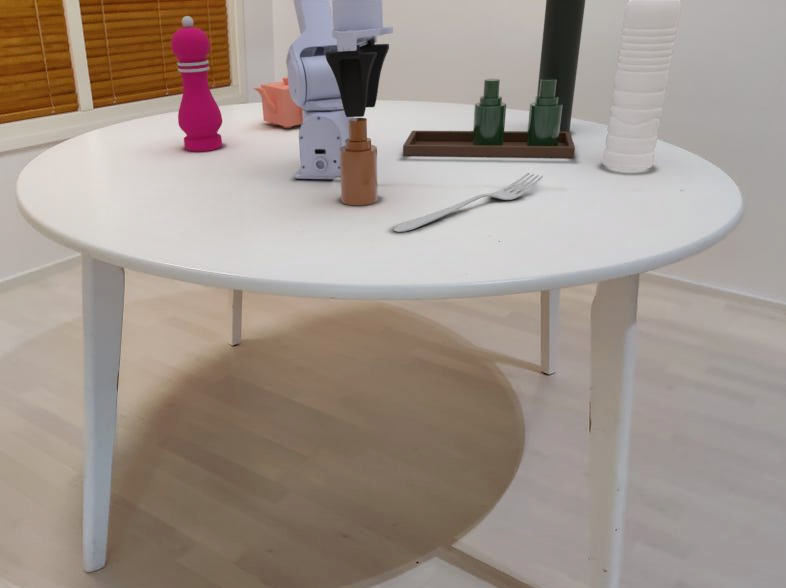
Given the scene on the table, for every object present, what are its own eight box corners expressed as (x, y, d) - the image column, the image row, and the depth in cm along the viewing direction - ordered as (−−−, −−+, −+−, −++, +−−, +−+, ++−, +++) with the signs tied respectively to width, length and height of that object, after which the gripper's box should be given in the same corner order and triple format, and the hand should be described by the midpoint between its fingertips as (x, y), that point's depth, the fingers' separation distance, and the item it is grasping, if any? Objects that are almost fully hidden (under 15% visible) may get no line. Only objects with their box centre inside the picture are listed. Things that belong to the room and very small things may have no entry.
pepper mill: (229, 142, 122) (215, 13, 112) (219, 152, 116) (203, 16, 106) (188, 142, 123) (171, 15, 113) (176, 152, 116) (156, 18, 107)
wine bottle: (564, 128, 121) (588, -78, 106) (573, 136, 116) (600, -79, 101) (530, 129, 121) (549, -76, 106) (537, 137, 116) (559, -78, 101)
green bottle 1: (502, 152, 106) (508, 82, 101) (471, 151, 107) (475, 82, 102) (503, 145, 110) (508, 77, 105) (473, 144, 111) (476, 77, 106)
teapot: (241, 125, 134) (236, 78, 130) (307, 114, 141) (305, 69, 137) (272, 135, 125) (268, 85, 121) (341, 122, 132) (340, 75, 128)
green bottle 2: (558, 152, 104) (566, 81, 99) (526, 152, 105) (532, 81, 100) (556, 145, 108) (564, 76, 103) (525, 145, 109) (531, 77, 104)
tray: (573, 162, 101) (574, 147, 100) (403, 159, 107) (403, 145, 106) (568, 145, 110) (570, 131, 109) (411, 143, 116) (412, 130, 114)
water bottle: (631, 176, 94) (668, -39, 82) (591, 167, 99) (620, -38, 86) (671, 165, 98) (712, -42, 86) (631, 156, 103) (664, -41, 90)
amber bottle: (374, 206, 87) (373, 123, 82) (337, 205, 88) (334, 123, 83) (380, 195, 91) (379, 115, 86) (345, 194, 92) (342, 115, 87)
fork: (385, 228, 80) (385, 213, 79) (524, 185, 92) (526, 171, 92) (405, 235, 78) (405, 219, 77) (545, 190, 90) (546, 176, 89)
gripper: (381, -17, 73) (384, 120, 79) (400, -17, 85) (401, 102, 91) (315, -13, 74) (323, 121, 80) (343, -13, 87) (348, 103, 93)
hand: (361, 111), depth 86 cm, fingers open, 7 cm apart
